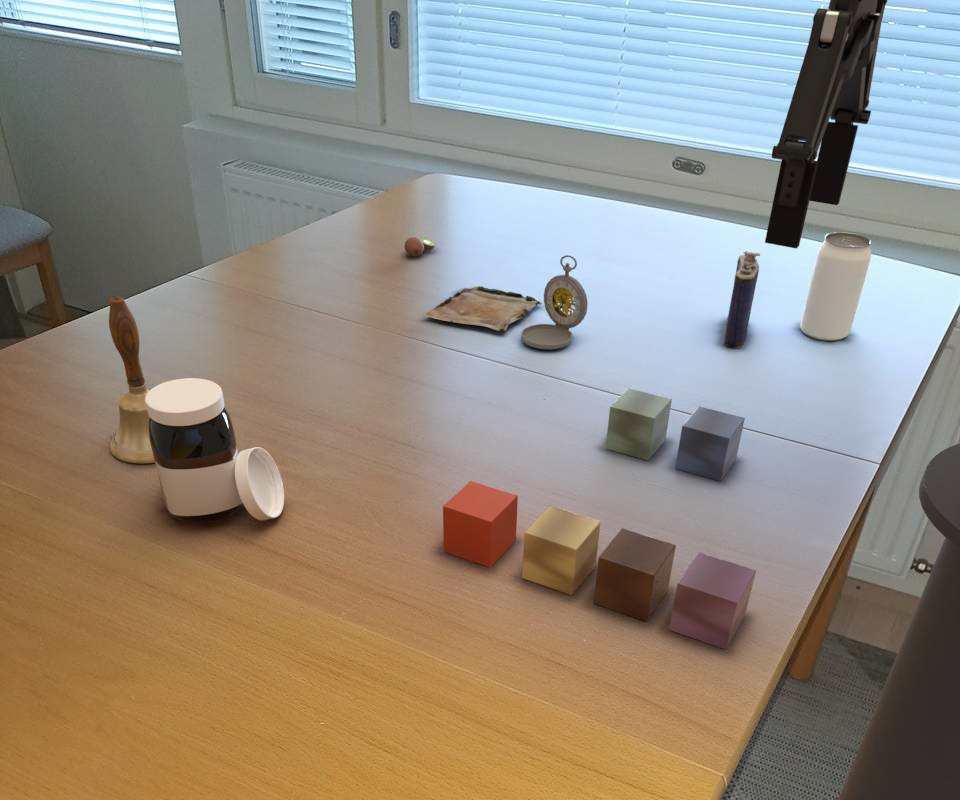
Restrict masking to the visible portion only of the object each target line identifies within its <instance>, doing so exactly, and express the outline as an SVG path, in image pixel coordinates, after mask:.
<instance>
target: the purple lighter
mask: <svg viewBox="0 0 960 800" xmlns="http://www.w3.org/2000/svg"><path fill="white" fill-rule="evenodd" d="M760 256H761V253H760V252H752V251H750V252H749V251H747V250H746V251H743V254H741V255H739V256H738V258H737V261H736V262H737V263H736V269H735V275H734V282H733V287H732V292H731V297H730V304H729V309H728V314H727V318H726V324H725V326H726V327H725V330H724V333H725V334H724V338H723V345H724V346H725V347H727V348H730V349H739V348H742V346H743V345H744V344H745V342H746V340H747V335H748V328H749V323H750V317H751V313H752V307H753V302H754V297H755V292H756V286H757V282H758V277H759V271H760V265H759V261H758V259H757V258H756V257H760Z"/></svg>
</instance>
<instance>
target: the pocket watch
mask: <svg viewBox="0 0 960 800" xmlns="http://www.w3.org/2000/svg"><path fill="white" fill-rule="evenodd" d="M566 258H570V259H572V260H573V261H574V266H573V267H571V265H570V263H569V262H566V263H565V265H564V264H563V260H564V259H566ZM559 263H560V266H561V268H562V270H563V271H564V274H558V275H556V276H553V277H552V278H550V280H548V282H547V283H546V285H545V286H544V292H543V304H544V308H545V311H546V314H547V316H548V317H549V319H550V320H551V321H552V322H553V323H554V324H550V323H537V324H533V325H529V326H527V327H524V328H523V329H522V331H521V333H520V338H521V340H522V342H523V343H524V344H526V345H527V346H529V347H532V348H535V349H540V350H557V349H562V348H565V347H567V346H568V345H570V344H571V342H572V340H573V333H572V332H571V330H570V329H572V328H573V329H574V328H575V327H577V326H579V325H580V324H581V323H582V322H583V321H584V319H585V317H586V315H587V313H588V305H589V304H588V303H589V302H588V297H587V293H586V291H585V289H584V287H583V285H582V284H581V283H580V282H579V280H578V279H577V278H575V277H573V276H571V275H570V274H569V273H570V272H572V271H573V270H575V269H576V268H577V266H578V261H577V259H576V258H575V257H574V256H573V255H567V254H565V255H563V256H562V257H561V258H560V260H559Z"/></svg>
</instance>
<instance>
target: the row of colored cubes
mask: <svg viewBox="0 0 960 800" xmlns="http://www.w3.org/2000/svg"><path fill="white" fill-rule="evenodd" d="M600 530H601V520H598V519H595V518H592V517H589V516H586V515H582V514H579V513H576V512H573V511H570V510H567V509H564V508H560V507H557V506H554V505H549V506H548V507H547V508H546V509H545V510H544V511H543V512H542V513H541V514H540V515H539V517H537V519H535V521H534V522H533V523H532V524H531V525H530V526H529V527H528V528H527V529H526V530H525V531H524V535H523V538H524V539H523V552H522V553H523V555H522V570H521V571H522V572H521V573H522V575H521V579H523V580H527V581H529V582H531V583H535V584H537V585H540V586H542V587H543V586H544V587H546V588H549V589H552V590H555V591H558V592H560V593H564V594H565V595H569V596H573V595H574V594H575V593H576V592H577V590H578V589H579V587H580V586H581V585H582V584H583V583H584V581H586V579H587V578H588V577H589V575H590V574H591V573H592V572H593V570H594V569H595V568H596V566H597V569H596V576H595V586H594V594H593V604H595V605H598V606H601V607H604V608H606V609H609V610H612V611H614V612H617V613H620V614H623V615H626V616H628V617H629V616H630V617H631V618H635V619H638V620H640V621H644V622H647V621H648V620H649V619H650V618H651V616H652V614H653V613H654V612H655V610H656V609H657V607H658V606H659V604H660V603H661V602H662V600H663V598H664V597H665V595H666V594H667V592H668V591H669V586H670V580H671V574H672V569H673V564H674V558H675V553H676V548H677V547H676V546H677V545H676V544H674V543H671V542H667V541H664V540H661V539H658V538H655V537H652V536H649V535H646V534H643V533H639V532H637V531H633V530H630V529H627V528H621V529H620V530H619V531H618V532H617V534H616V535H615V536H614V538H613V539H611V541H610V543H608V545H606V547H605V548H604V550H603V551H602V552H601V553H600V555H599V556H598V550H599V549H598V548H599V539H600V532H601V531H600ZM597 557H598V559H597ZM756 573H757V570H756V569H754V568H751V567H747V566H744V565H741V564H737V563H734V562H732V561H729V560H726V559H722V558H719V557H716V556H712V555H710V554H706V553H703V552H697V554H696V556H695V557H694V559H692V561H691V562H690V564H689V565H688V567H687V569H686V570H685V572H684V573H683V575H682V576H681V577H680V579H679V580H678V582H677V583H676V584H677V585H676V591H675V596H674V599H673V607H672V610H671V617H670V621H669V628H668V630H669V631H672V632H674V633H676V634H677V633H678V634H680V635H683V636H686V637H689V638H692V639H694V640H696V641H699V642H702V643H706V644H708V645H711V646H714V647H717V648H718V649H719V648H720V649H723V650H727V648H728V647H729V645H730V643H731V641H732V640H733V638H734V635H735V634H736V633H737V631H738V629H739V627H740V626H741V624H742V622H743V620H744V619H745V617H746V612H747V609H748V604H749V600H750V598H751V597H750V596H751V593H752V589H753V585H754V581H755V577H756V575H757V574H756Z"/></svg>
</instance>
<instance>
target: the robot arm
mask: <svg viewBox="0 0 960 800" xmlns="http://www.w3.org/2000/svg"><path fill="white" fill-rule="evenodd" d="M887 3H888V0H829V4H828V7H827V8H822V7H821V8H817V9H816V11H815V13H814V14H813V18H812V27H811V30H810V35H809V39H808V45H807V47H806V51H805V54H804V57H803V61H802V64H801V67H800V70H799V74H798V77H797V81H796V84H795V87H794V91H793V94H792V97H791V101H790V104H789V107H788V110H787V113H786V117H785V120H784V123H783V127H782V130H781V134H780V137H779V140H778V142H777V145H773V147H772V151H771V158H772V159H774V160H781V161H780V166H779V171H778V177H777V181H776V186H775V190H774V196H773V201H772V204H771V205H772V206H771V210H770V215H769V220H768V225H767V228H766V229H767V230H766V234H765V240H764V243H765V244H770V245H775V246H781V247H786V248H791V249H795V250H796V249H798V248H799V247H800V244H801V239H802V236H803V235H802V234H803V231H804V226H805V222H806V219H807V218H806V217H807V212H808V209H809V205H810V202H815V203H820V204H827V205H833V206H838V205H839V204H840V202H841V197H842V193H843V190H844V185H845V181H846V177H847V173H848V169H849V165H850V161H851V157H852V154H853V153H852V152H853V148H854V146H855V145H854V143H855V142H856V141H855V140H856V137H857V134H858V129H859V125H858V124H863V125H868V123H869V121H870V118H871V115H872V114H871V113H872V110H869V109H867V108H868V107H869V104H870V94H871V88H872V84H873V83H872V82H873V76H874V70H875V64H876V57H877V52H878V46H879V40H880V34H881V27H882V22H883V17H884V12H885V9H886V6H887ZM830 120H832V121H830Z"/></svg>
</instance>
